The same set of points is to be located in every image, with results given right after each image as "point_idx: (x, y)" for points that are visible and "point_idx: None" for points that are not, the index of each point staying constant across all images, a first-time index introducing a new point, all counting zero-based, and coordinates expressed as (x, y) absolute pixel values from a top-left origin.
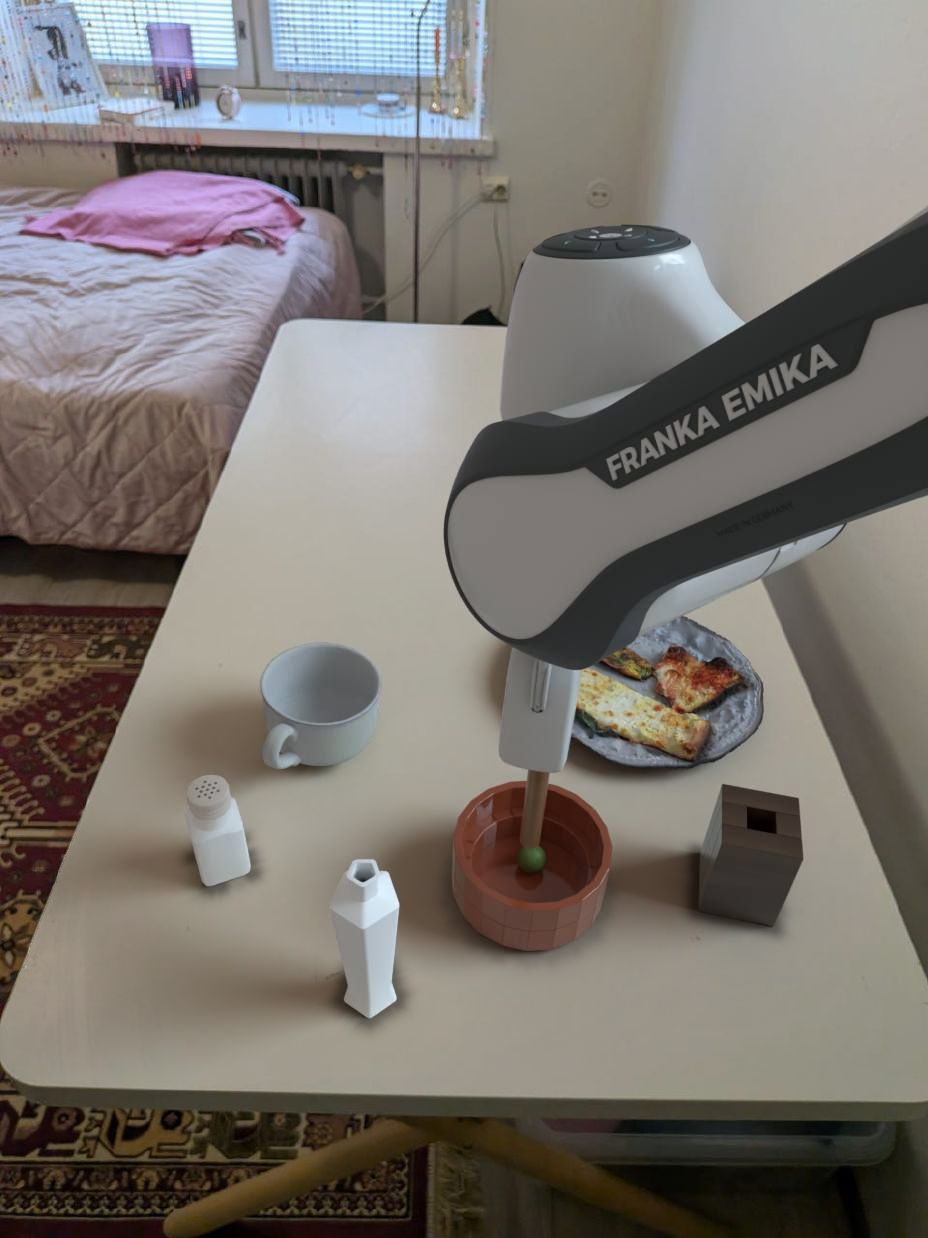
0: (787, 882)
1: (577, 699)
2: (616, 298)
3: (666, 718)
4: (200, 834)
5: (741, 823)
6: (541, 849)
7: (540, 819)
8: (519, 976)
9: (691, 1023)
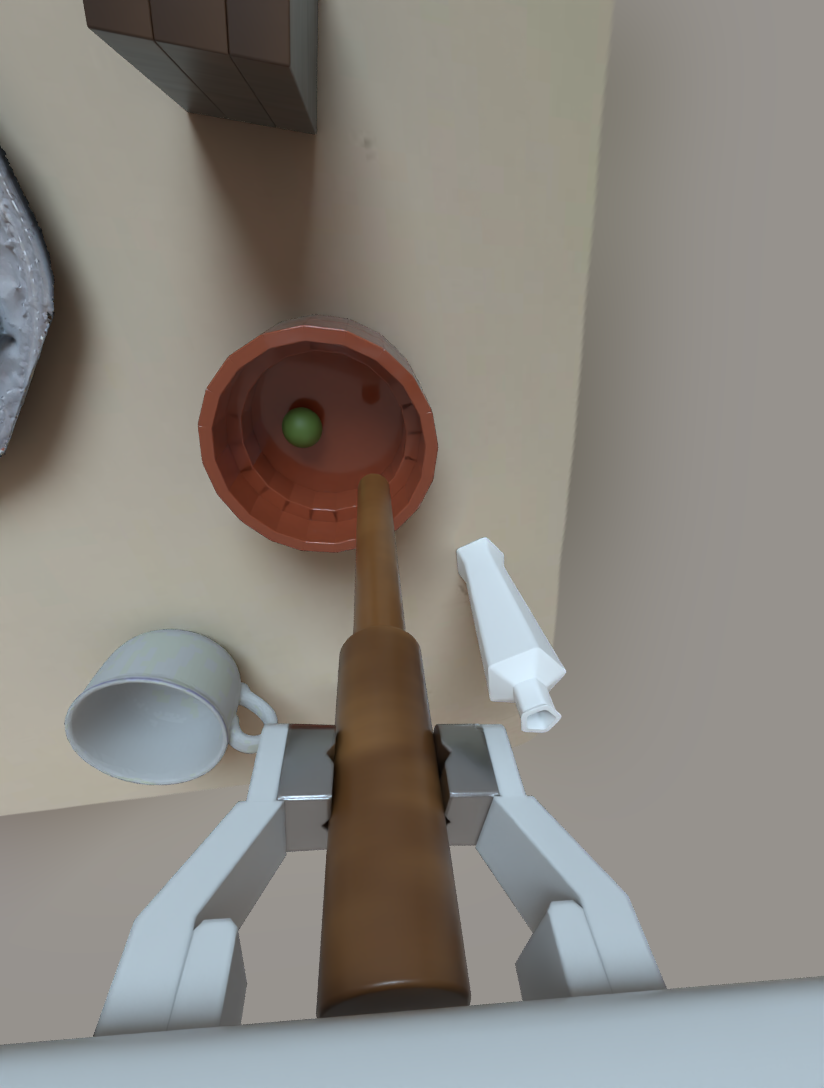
0: None
1: (785, 1062)
2: None
3: None
4: None
5: None
6: (293, 420)
7: (387, 508)
8: (452, 421)
9: (506, 175)
